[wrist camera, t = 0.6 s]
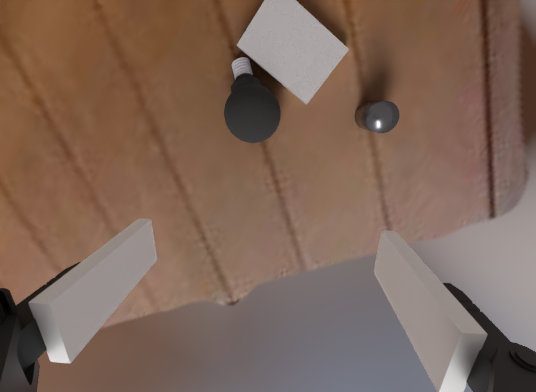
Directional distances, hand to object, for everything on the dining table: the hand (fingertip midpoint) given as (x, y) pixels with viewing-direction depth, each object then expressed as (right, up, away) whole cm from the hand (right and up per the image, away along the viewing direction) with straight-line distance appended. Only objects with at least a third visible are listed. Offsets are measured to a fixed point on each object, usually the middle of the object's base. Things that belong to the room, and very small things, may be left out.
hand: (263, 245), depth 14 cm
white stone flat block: (+3, +20, +15) cm, 25 cm away
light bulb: (-2, +14, +17) cm, 22 cm away
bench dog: (+13, +13, +16) cm, 24 cm away
